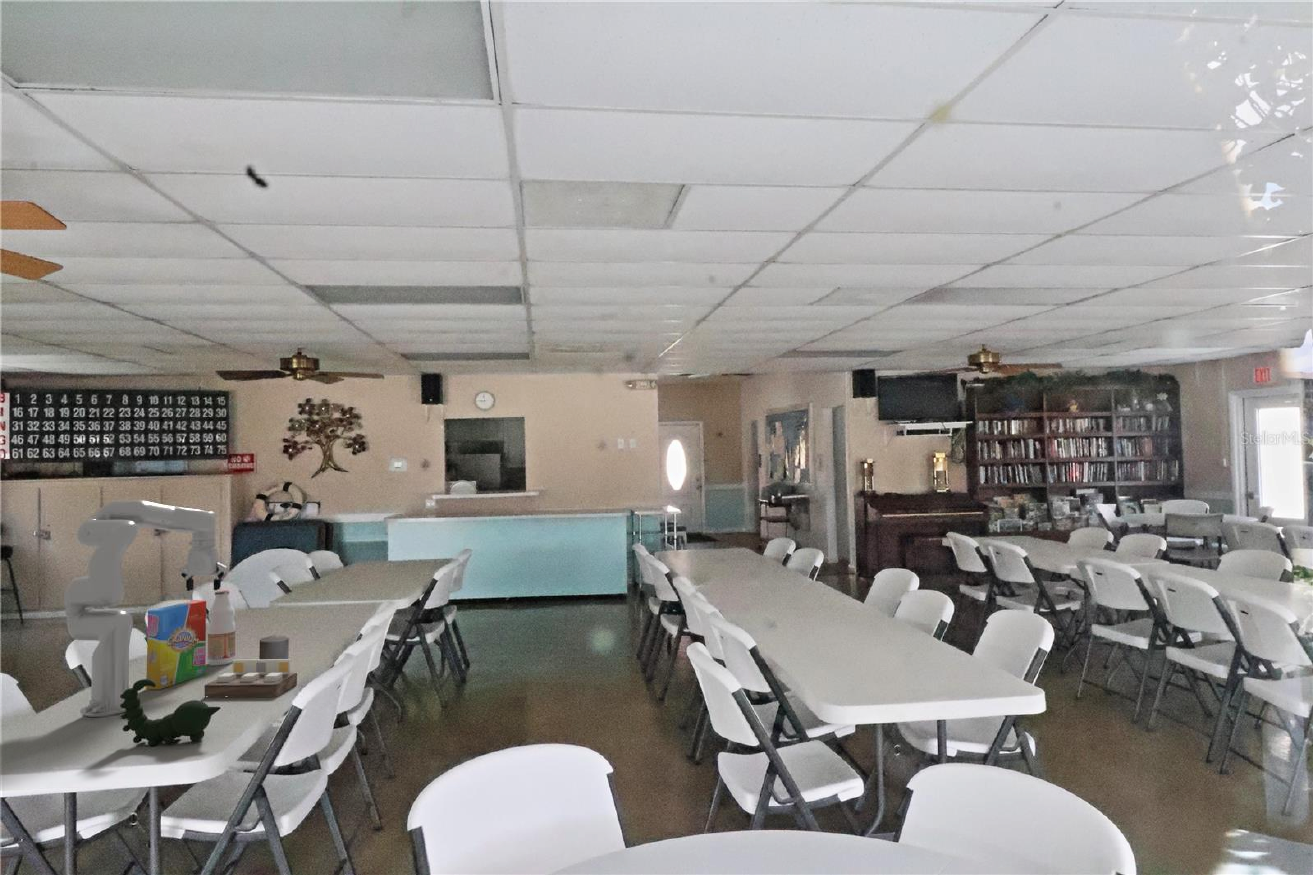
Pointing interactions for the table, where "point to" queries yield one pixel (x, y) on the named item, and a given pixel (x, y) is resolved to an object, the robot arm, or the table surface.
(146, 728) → the toy figurine
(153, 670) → the game box
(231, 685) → the button board
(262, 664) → the card
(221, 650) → the fruit juice
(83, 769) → the table surface
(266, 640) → the pillar candle
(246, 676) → the middle button
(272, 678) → the right button
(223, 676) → the left button
